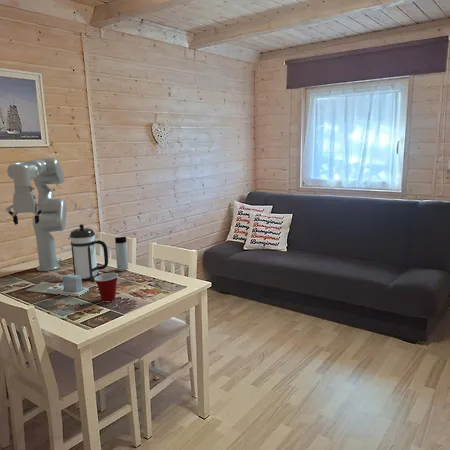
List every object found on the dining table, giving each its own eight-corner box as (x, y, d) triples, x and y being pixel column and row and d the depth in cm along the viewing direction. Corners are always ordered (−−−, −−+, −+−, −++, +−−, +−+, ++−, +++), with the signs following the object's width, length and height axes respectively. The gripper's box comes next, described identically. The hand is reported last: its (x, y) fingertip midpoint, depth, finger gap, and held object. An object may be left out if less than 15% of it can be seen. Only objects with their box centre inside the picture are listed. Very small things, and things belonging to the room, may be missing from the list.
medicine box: (83, 292, 198) (81, 275, 196) (77, 295, 193) (75, 278, 192) (70, 290, 200) (68, 273, 198) (63, 293, 196) (62, 276, 194)
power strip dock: (58, 287, 204) (57, 281, 203) (88, 290, 199) (88, 285, 198) (47, 293, 196) (46, 287, 196) (78, 296, 191) (78, 290, 191)
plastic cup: (100, 295, 192) (98, 271, 190) (122, 295, 192) (121, 271, 189) (92, 304, 182) (90, 279, 179) (116, 304, 181) (114, 279, 179)
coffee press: (78, 285, 207) (73, 228, 201) (67, 278, 218) (62, 224, 212) (110, 277, 218) (106, 224, 212) (97, 271, 230) (93, 220, 224)
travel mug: (118, 272, 227) (116, 238, 223) (116, 269, 232) (113, 235, 228) (129, 270, 229) (127, 236, 225) (126, 267, 235) (124, 234, 231)
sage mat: (43, 282, 211) (42, 281, 211) (62, 284, 208) (62, 283, 208) (25, 290, 200) (25, 289, 200) (45, 293, 197) (45, 292, 197)
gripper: (43, 188, 203) (46, 221, 206) (7, 189, 200) (10, 223, 203) (39, 189, 196) (43, 224, 199) (1, 191, 193) (5, 225, 196)
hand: (26, 223), depth 201 cm, fingers open, 9 cm apart
